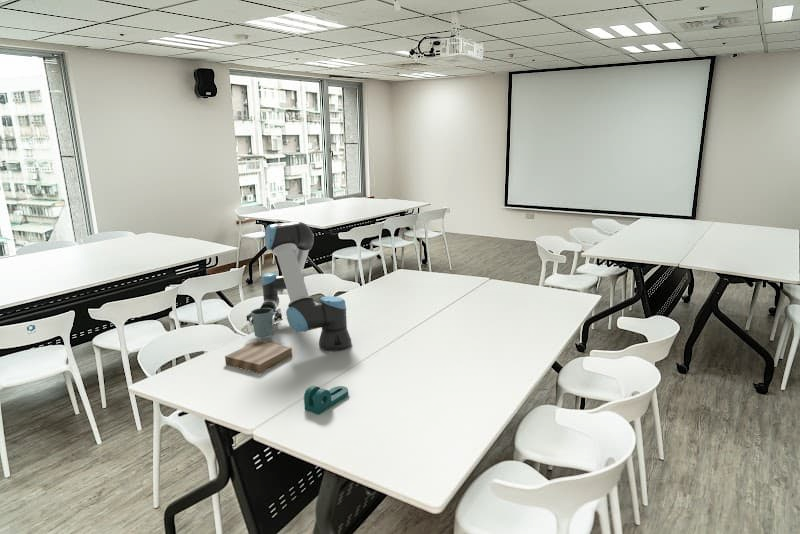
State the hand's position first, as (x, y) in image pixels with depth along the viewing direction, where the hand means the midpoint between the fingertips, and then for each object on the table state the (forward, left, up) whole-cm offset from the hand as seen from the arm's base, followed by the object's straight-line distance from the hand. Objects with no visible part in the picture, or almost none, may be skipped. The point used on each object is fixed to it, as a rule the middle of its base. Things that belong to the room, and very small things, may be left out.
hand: (261, 322), depth 239 cm
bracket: (-62, +32, -11) cm, 71 cm away
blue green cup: (+2, -2, -7) cm, 8 cm away
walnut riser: (-13, +16, -11) cm, 23 cm away
